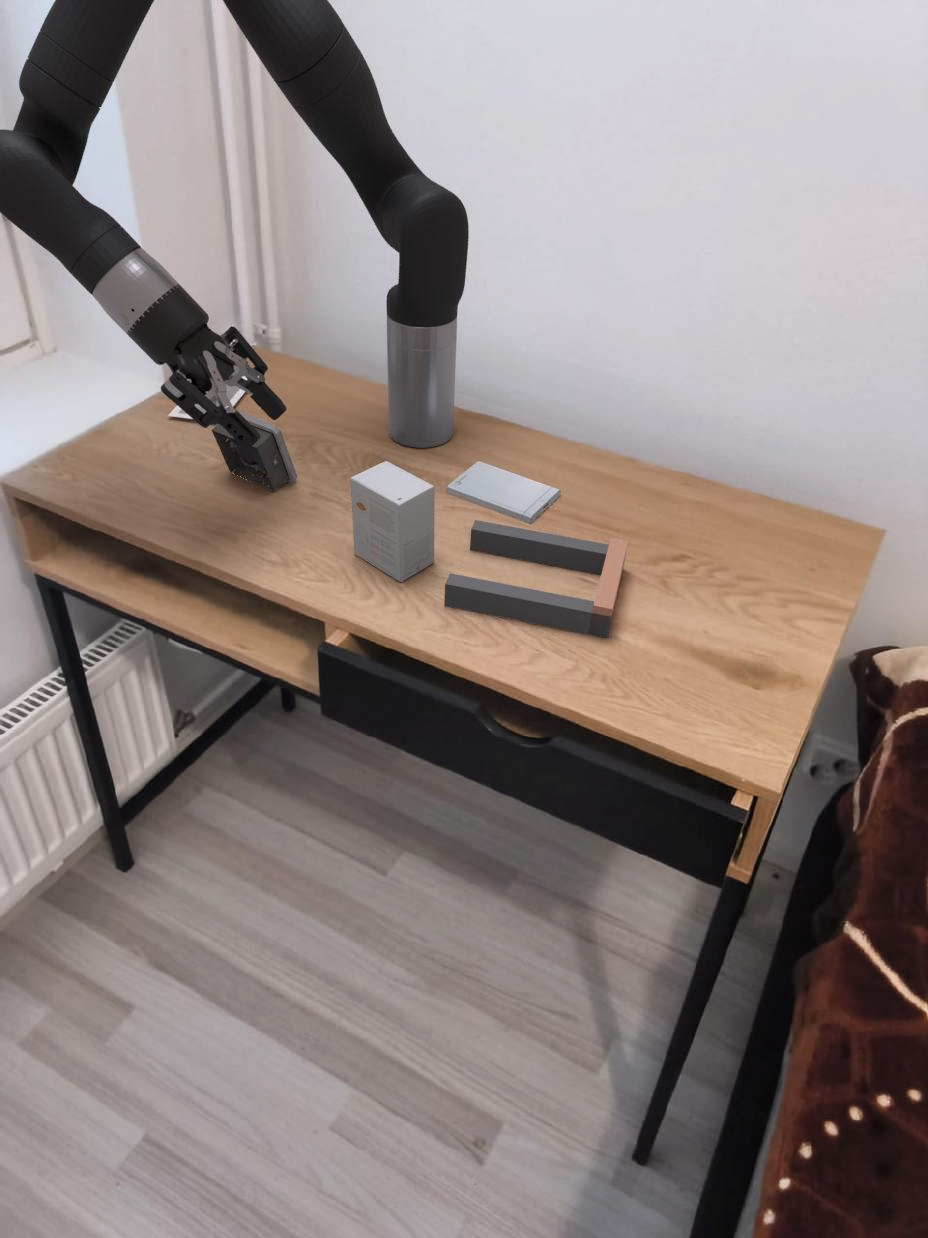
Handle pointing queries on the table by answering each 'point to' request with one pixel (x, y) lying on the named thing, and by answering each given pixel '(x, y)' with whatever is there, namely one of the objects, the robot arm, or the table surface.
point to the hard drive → (503, 491)
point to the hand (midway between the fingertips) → (268, 428)
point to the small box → (393, 520)
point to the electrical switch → (258, 455)
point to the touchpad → (232, 394)
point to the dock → (534, 602)
